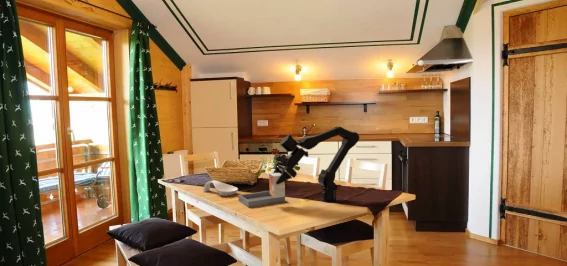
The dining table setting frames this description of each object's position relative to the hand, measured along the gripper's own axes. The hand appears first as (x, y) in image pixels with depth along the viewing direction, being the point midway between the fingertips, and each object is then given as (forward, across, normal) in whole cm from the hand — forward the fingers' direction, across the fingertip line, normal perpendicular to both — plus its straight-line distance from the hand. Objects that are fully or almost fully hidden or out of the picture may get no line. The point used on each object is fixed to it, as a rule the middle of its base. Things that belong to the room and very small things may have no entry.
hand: (274, 182), depth 184 cm
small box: (+4, 0, +6) cm, 7 cm away
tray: (+11, -14, +6) cm, 19 cm away
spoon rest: (+24, -41, -6) cm, 47 cm away
